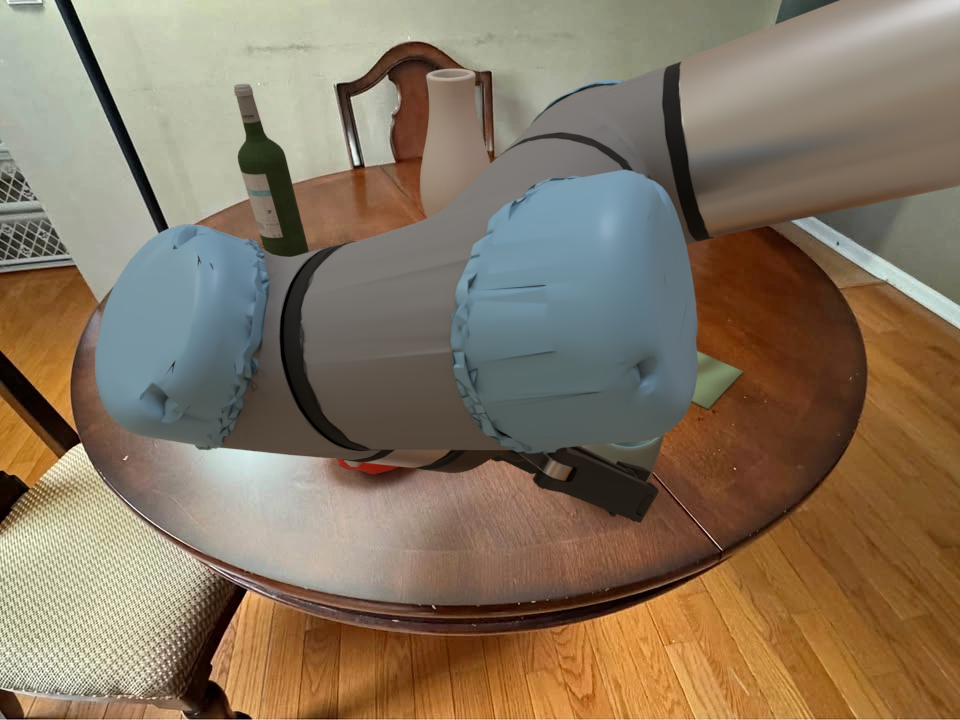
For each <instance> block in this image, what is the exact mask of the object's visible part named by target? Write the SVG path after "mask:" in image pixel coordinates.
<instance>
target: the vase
mask: <svg viewBox="0 0 960 720" xmlns="http://www.w3.org/2000/svg"><path fill="white" fill-rule="evenodd" d="M476 75H477V74H476V73H475V72H474V71H473V70H470V69H466V68H465V69H464V68H444V69H442V68H441V69H437V70H433V71H430V72H428V73H427V74H426V76H425V79H426V84H427V93H428V107H429V109H428V123H427V132H426V137H425V143H424V149H423V154H422V160H421V166H420V174H419V175H420V177H419V193H420V200H421V205H422V210H423V212H424V215H425V217H426V218H425V219H427V218H429V217H431V216H433V215H435V214H437V213H438V212H440V211H441V210H442V209H444V208H445V207H446V206H447V205H448V204H449V203H450V202H451V201H452V200H453V199H454V198H455V197H456V196H457V195H458V194H459V193H460V192H461V191H463V190H464V189H465V188H466V187H467V186H468V185H469V184H470V183H471V182H472V181H473V180H474V179H475V178H476V177H477V176H478V175H479V174H480V173H481V172H482V171H484V170H485V169H486V168H487V167H488V166H489V165H490V164H491V163H492V162H491V160H490V156H489V154H488V150H487V146H486V143H485V140H484V136H483V133H482V130H481V126H480V122H479V121H480V120H479V117H478V110H477V102H476V101H477V100H476Z"/></svg>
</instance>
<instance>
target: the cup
mask: <svg viewBox="0 0 960 720" xmlns="http://www.w3.org/2000/svg"><path fill="white" fill-rule="evenodd" d="M664 437H665V434H664V435H662V436H660V437H657V438H654V439H650V440H646V441H635V442H623V443H611V444H599V445H587V446H581V447H583V448H585V449H587V450H589V451H591V452H593V453H595V454H597V455H599V456H601V457H603V458H605V459H607V460H609V461H611V462H613V463H615V464H616V463H617V461H620V462H624V463H628V464H632V465H636V466H640V467H643V468H645V469H647V470H648V471H650V472H651V474H650V475H649V477H648V479H647V481H646V482H650V481H651V479H652V476H653V474H654V472H655V469H656V467H657V464H658V461H659V457H660V453H661V450H662V446H663V441H664Z"/></svg>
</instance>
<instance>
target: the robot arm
mask: <svg viewBox="0 0 960 720" xmlns="http://www.w3.org/2000/svg"><path fill="white" fill-rule="evenodd" d="M490 163H491V164H490V165H489V166H488V167H487V168H486V169H485V170H484V171H482V172H481V173H480V174H479V175H478V176H477V177H476V178H475V179H474V180H473V181H472V182H471V183H470V184H469V185H468V186H467V187H466V188H465V189H464V190H463V191H461V192H460V193H459V194H458V195H457V196H456V197H455V198H454V199H453V200H452V201H451V202H450V203H449V204H448V205H447V206H446V207H445V208H444V209H442V210H441V211H440V212H438V213H437V214H435V215H433V216H431V217H429V218H424V219H422V220H420V221H416V222H414V223H411V224H408V225H405V226H401V227H398V228H395V229H391V230H388V231H385V232H382V233H379V234H376V235H372V236H370V237H366V238H363V239H360V240H353V241H348V242H344V243H341V244H332V245H329V246H325V247H322V248H319V249H315V250H312V251H308V253H304V254H301V255H297V256H293V257H284V256H277V255H273V254H271V253H269V252H268V251H266V250H265V249H264V247H261V245H260V244H259V242H258V241H256V240H253V239H252V238H250V237H249V238H241V237H238V236H234V235H232V234H229V233H226V232H223V231H220V230H217V229H214V228H211V227H209V226H206V225H203V224H192V223H185V224H180V225H179V224H178V225H175V226H172V227H170V228H167V229H165V230H162V231H161V232H159V233H157V234H156V235H154V236H153V237H151V238H150V239H148V241H146V242H145V243H144V244H143V245H142V246H141V247H140V248H139V249H138V250H137V251H136V253H135V254H134V255H133V256H132V257H131V258H130V259H129V261H128V262H127V264H126V265H125V266H124V268H123V270H122V272H121V273H120V275H119V276H118V278H117V280H116V282H115V283H114V285H113V287H112V290H111V292H110V295H109V297H108V298H107V302H106V304H105V306H104V310H103V313H102V316H101V320H100V325H99V330H98V334H97V339H96V343H95V351H94V378H95V384H96V388H97V391H98V395H99V396H98V397H99V399H100V401H101V403H102V406H103V408H104V409H105V411H106V412H107V414H108V415H109V416H110V417H111V419H112V420H113V421H114V422H115V423H116V424H117V426H120V427H121V428H123V429H124V430H126V431H127V432H129V433H131V434H132V435H133V434H134V435H136V436H140V437H145V438H150V439H157V440H163V441H169V442H175V443H181V444H187V445H192V446H194V447H195V448H196V449H198V450H199V451H212V450H214V449H215V450H217V449H228V450H229V449H230V450H239V451H247V452H259V453H268V454H277V455H286V456H296V457H297V456H298V457H308V458H322V459H335V460H336V459H342V460H344V461H345V462H346V463H347V464H348V465H350V466H351V467H358V466H359V465H360V464H361V462H365V463H373V464H382V465H391V466H400V467H401V468H410V469H411V468H412V469H415V470H420V471H426V472H427V471H428V472H429V471H430V472H437V473H446V474H447V473H448V474H461V473H466V472H469V471H472V470H474V469H476V468H478V467H480V466H482V465H484V464H485V463H487V462H489V461H490V460H491V461H493V462H496V463H499V462H505V463H507V464H509V465H511V466H513V467H515V468H516V469H519V470H522V471H524V472H526V473H528V474H530V475H534V476H533V477H532V481H533V483H534V484H535V485H536V486H537V487H538V488H540V489H542V490H547V491H549V492H550V491H551V492H555V493H561V494H564V495H567V496H570V497H573V498H575V499H578V500H580V501H582V502H585V503H588V504H591V505H592V506H596V507H598V508H600V509H603V510H604V511H606V512H607V514H608V515H610V516H611V517H612V518H616V516H617V515H619V516H620V517H624V518H626V519H629V520H630V521H632V522H634V523H635V522H637V523H639V524H641V523H642V522H643V520H644V519H645V516H646V514H647V513H648V511H649V510H650V508H651V507H652V504H653V502H654V501H655V499H656V498H657V495H658V493H659V492H660V490H659V488H658V487H657V486H656V485H655V484H654V483H652V482H650V481H649V482H646V481H647V479H648V477H649V475H650V474H651V472H650V471H648V470H647V469H645V468H643V467H640V466H636V465H632V464H628V463H624V462H620V461H617V463H616V464H615V463H613V462H611V461H609V460H607V459H605V458H603V457H601V456H599V455H597V454H595V453H593V452H591V451H589V450H587V449H585V448H583V447H581V446H587V445H599V444H611V443H623V442H635V441H646V440H650V439H654V438H657V437H660V436H662V435H664V436H665V435H666V434H668V433H669V432H671V431H672V430H673V429H674V428H675V427H677V426H678V425H679V424H680V423H681V422H682V420H683V419H684V418H685V416H686V415H687V413H688V411H689V409H690V407H691V404H692V402H691V401H692V399H693V396H694V392H695V387H696V381H697V370H698V357H697V351H698V348H697V337H698V313H697V302H696V294H695V286H694V279H693V274H692V268H691V262H690V256H689V251H688V246H687V245H689V244H694V243H698V242H703V241H707V240H711V239H714V238H717V237H721V236H725V235H729V234H730V235H731V234H735V233H740V232H744V231H745V232H746V231H750V230H754V229H760V228H763V227H764V228H765V227H768V226H769V227H770V226H773V225H778V224H779V225H780V224H783V223H788V222H792V221H797V220H802V219H809V218H813V217H817V216H822V215H827V214H831V213H836V212H842V211H846V210H851V209H855V208H860V207H861V208H862V207H866V206H870V205H875V204H880V203H884V202H890V201H894V200H899V199H904V198H910V197H914V196H919V195H924V194H928V193H933V192H937V191H943V190H948V189H953V188H959V187H960V0H837V1H833V2H832V3H828V4H826V5H823V6H821V7H818V8H815V9H813V10H810V11H808V12H807V11H806V12H805V13H802V14H800V15H797V16H794V17H791V18H789V19H787V20H784V21H781V22H778V23H775V24H772V25H771V26H767V27H765V28H762V29H759V30H756V31H754V32H751V33H748V34H747V35H743V36H741V37H738V38H735V39H732V40H730V41H727V42H725V43H723V44H719V45H717V46H714V47H711V48H709V49H706V50H703V51H701V52H698V53H695V54H693V55H690V56H688V57H685V58H682V60H681V61H678V62H676V63H673V64H670V65H667V66H664V67H661V68H657V69H654V70H651V71H648V72H645V73H643V74H640V75H637V76H634V77H632V78H630V79H627V80H623V79H601V80H595V81H591V82H589V83H586V84H583V85H581V86H579V87H577V88H575V89H573V90H570V91H569V92H567V93H565V94H563V95H560V96H559V97H557V98H555V99H553V100H551V101H550V102H549V103H548V105H547V106H546V107H545V108H544V109H543V111H541V112H540V113H538V114H537V115H536V116H535V118H534V119H533V120H532V122H531V123H530V125H529V126H528V127H527V128H526V129H525V130H523V132H522V133H521V134H520V135H519V136H518V137H517V138H516V139H515V140H514V141H513V142H512V143H511V144H510V145H509V146H507V148H506V149H505V150H504V151H503V152H501V154H499V156H497V157H496V158H495V159H494V160H493V161H492V162H490Z"/></svg>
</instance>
